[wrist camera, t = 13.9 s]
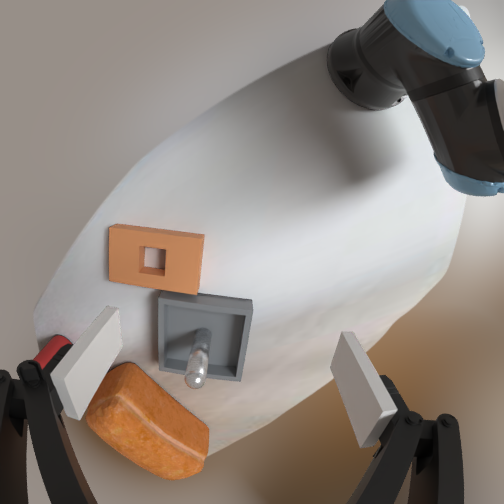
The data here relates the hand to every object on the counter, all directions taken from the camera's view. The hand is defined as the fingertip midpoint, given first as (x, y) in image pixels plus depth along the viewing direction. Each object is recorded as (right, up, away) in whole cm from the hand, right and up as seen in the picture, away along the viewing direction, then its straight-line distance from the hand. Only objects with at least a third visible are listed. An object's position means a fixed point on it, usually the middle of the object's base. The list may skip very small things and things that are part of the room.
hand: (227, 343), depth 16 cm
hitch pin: (-7, -9, +33) cm, 35 cm away
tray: (-7, -9, +34) cm, 36 cm away
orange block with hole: (-14, +5, +30) cm, 33 cm away
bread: (-20, -29, +39) cm, 53 cm away
